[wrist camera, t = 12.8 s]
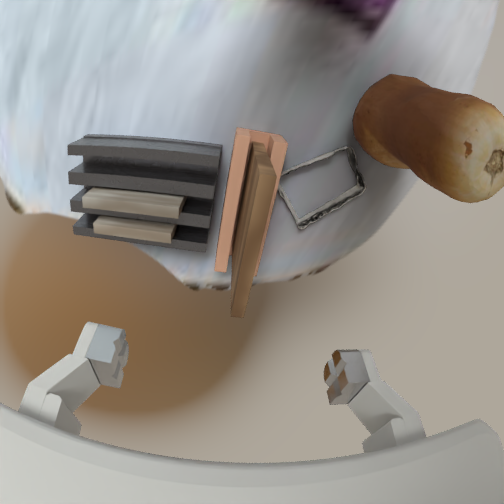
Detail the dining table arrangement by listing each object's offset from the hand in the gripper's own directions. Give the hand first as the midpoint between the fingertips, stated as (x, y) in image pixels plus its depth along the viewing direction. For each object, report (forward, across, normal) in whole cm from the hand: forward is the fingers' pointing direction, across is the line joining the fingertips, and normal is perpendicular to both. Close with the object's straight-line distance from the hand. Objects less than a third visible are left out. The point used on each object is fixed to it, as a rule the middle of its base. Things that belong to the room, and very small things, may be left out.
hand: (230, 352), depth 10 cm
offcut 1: (+34, +13, +9) cm, 38 cm away
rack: (+36, +13, +9) cm, 39 cm away
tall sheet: (+34, -3, +9) cm, 36 cm away
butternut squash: (+37, -21, -9) cm, 43 cm away
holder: (+36, -3, +9) cm, 37 cm away
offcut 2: (+34, +13, +13) cm, 39 cm away
